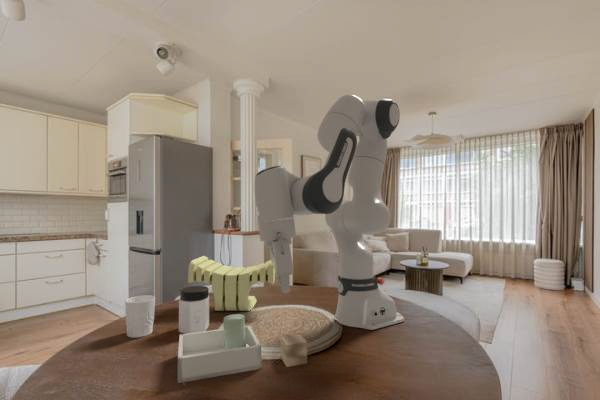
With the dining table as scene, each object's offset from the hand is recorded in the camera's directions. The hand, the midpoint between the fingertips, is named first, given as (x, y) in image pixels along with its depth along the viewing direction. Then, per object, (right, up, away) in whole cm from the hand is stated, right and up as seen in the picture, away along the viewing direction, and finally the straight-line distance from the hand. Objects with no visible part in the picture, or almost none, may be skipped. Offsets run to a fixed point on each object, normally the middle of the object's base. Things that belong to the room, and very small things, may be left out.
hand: (284, 288), depth 76 cm
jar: (-28, -18, +18) cm, 38 cm away
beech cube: (+2, -17, -2) cm, 17 cm away
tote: (-16, -17, -2) cm, 23 cm away
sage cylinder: (-12, -16, -1) cm, 20 cm away
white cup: (-43, -18, +15) cm, 49 cm away
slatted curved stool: (-20, -18, +40) cm, 49 cm away
